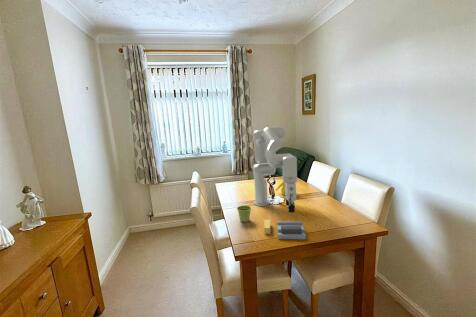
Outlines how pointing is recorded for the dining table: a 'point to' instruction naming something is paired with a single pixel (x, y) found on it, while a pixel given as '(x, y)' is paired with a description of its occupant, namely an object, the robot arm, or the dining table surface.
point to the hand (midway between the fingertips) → (290, 208)
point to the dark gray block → (291, 230)
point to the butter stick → (267, 226)
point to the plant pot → (244, 213)
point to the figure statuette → (281, 188)
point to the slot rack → (290, 236)
